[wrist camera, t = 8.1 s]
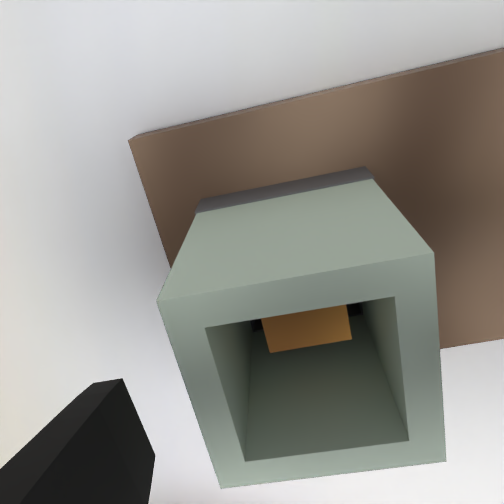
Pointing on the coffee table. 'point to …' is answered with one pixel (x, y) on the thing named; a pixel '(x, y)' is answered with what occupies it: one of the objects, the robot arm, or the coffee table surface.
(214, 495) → the coffee table surface
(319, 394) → the sleeve
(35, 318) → the coffee table surface
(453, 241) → the pin board
